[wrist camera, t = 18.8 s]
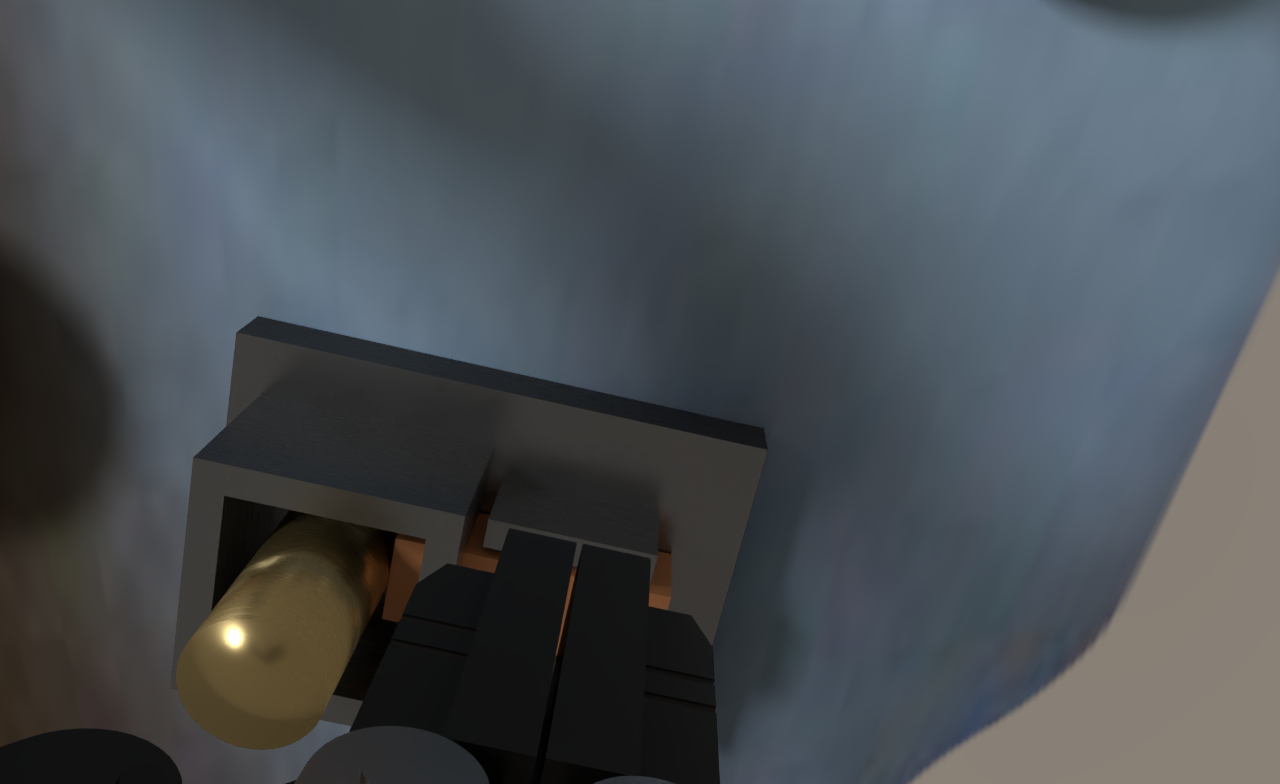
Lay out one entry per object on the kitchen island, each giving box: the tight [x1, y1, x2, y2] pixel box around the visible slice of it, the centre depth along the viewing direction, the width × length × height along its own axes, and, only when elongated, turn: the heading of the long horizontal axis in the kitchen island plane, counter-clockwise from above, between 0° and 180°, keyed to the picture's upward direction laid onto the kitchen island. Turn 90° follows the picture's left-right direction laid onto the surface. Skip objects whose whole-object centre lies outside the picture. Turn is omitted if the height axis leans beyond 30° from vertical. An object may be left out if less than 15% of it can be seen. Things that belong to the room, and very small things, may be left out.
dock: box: [170, 316, 768, 726], centre depth 38 cm, size 18×12×8 cm, turn 77°
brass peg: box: [176, 510, 398, 750], centre depth 35 cm, size 4×4×10 cm
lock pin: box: [382, 513, 672, 656], centre depth 38 cm, size 9×3×3 cm, turn 77°
